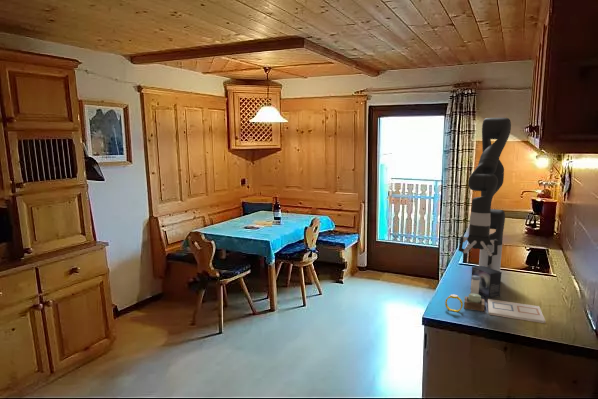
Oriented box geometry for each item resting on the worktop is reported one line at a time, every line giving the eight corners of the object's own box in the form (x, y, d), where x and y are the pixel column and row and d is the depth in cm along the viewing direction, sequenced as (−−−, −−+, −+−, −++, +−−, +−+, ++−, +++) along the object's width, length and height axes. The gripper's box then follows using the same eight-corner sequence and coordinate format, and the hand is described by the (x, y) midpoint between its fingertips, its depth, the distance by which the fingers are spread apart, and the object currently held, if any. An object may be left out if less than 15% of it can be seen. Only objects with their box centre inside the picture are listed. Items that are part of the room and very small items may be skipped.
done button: (468, 300, 163) (468, 292, 163) (480, 302, 161) (481, 294, 161) (467, 303, 159) (468, 296, 159) (480, 305, 157) (481, 298, 157)
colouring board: (487, 300, 168) (487, 298, 168) (539, 308, 161) (539, 306, 161) (488, 314, 153) (488, 312, 153) (545, 323, 146) (545, 320, 146)
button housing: (464, 302, 165) (464, 296, 165) (483, 305, 162) (484, 299, 162) (463, 308, 159) (464, 301, 158) (484, 311, 156) (484, 304, 156)
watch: (444, 311, 156) (444, 295, 156) (446, 308, 158) (446, 293, 158) (461, 313, 153) (461, 297, 153) (463, 311, 155) (463, 295, 155)
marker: (470, 296, 173) (471, 275, 172) (478, 297, 171) (479, 276, 170) (470, 298, 170) (471, 277, 169) (478, 299, 168) (480, 278, 168)
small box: (469, 290, 181) (471, 266, 180) (481, 288, 183) (482, 265, 182) (488, 298, 171) (490, 273, 170) (500, 296, 173) (502, 271, 172)
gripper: (499, 224, 168) (495, 263, 170) (461, 220, 173) (458, 259, 175) (500, 226, 161) (496, 268, 163) (460, 223, 167) (457, 263, 168)
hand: (476, 263), depth 169 cm, fingers open, 8 cm apart
